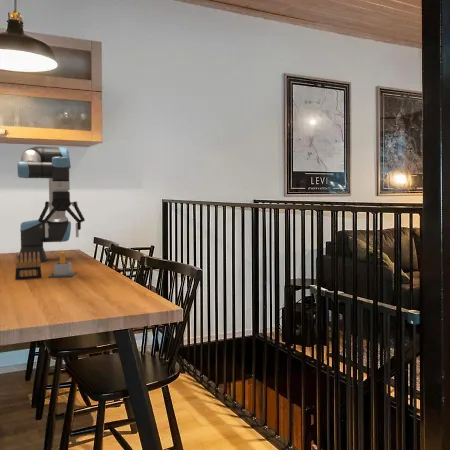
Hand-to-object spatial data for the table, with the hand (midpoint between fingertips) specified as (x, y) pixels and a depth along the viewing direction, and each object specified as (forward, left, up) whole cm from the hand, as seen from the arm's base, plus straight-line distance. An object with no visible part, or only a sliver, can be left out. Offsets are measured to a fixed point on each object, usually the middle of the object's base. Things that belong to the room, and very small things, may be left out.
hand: (62, 237), depth 218 cm
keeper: (0, 0, -18) cm, 18 cm away
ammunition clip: (+7, -13, -18) cm, 23 cm away
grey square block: (0, 0, -17) cm, 17 cm away
